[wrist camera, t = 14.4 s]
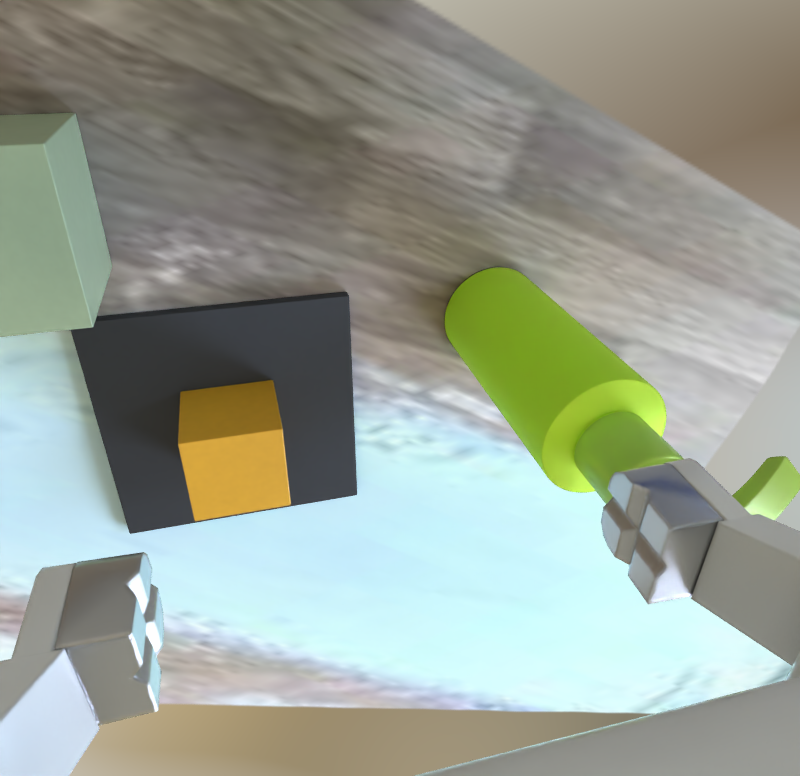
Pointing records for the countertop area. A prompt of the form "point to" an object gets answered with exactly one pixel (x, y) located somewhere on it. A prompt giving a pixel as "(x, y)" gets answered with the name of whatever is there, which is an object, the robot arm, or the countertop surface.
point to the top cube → (233, 449)
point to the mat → (214, 367)
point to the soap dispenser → (574, 391)
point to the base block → (48, 227)
